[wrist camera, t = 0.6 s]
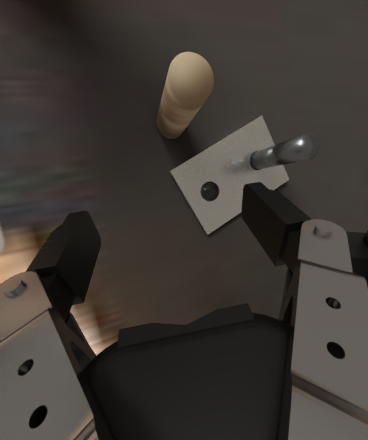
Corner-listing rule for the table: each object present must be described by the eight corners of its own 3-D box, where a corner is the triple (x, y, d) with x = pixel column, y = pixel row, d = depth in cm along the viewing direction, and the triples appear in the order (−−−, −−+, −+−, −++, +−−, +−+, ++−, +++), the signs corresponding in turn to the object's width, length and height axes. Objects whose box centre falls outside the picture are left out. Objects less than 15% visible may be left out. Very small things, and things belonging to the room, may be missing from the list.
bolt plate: (169, 171, 30) (185, 160, 20) (258, 117, 33) (316, 81, 22) (205, 233, 33) (237, 252, 22) (285, 179, 35) (348, 173, 25)
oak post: (150, 116, 29) (159, 64, 17) (175, 103, 29) (199, 43, 18) (166, 144, 30) (184, 112, 18) (189, 130, 30) (221, 90, 19)
